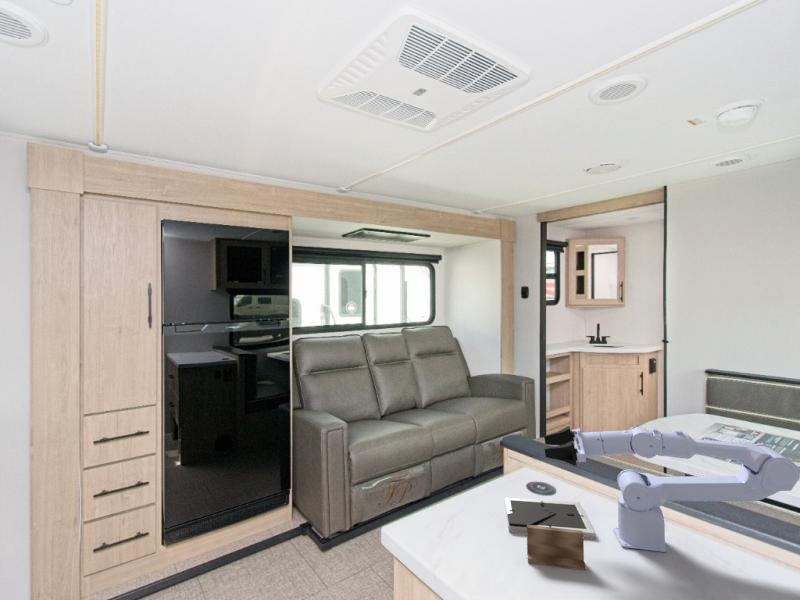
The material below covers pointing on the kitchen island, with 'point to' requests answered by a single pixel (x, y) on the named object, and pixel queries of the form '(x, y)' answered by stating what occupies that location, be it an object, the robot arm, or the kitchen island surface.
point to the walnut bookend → (555, 547)
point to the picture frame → (546, 515)
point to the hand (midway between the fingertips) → (544, 446)
